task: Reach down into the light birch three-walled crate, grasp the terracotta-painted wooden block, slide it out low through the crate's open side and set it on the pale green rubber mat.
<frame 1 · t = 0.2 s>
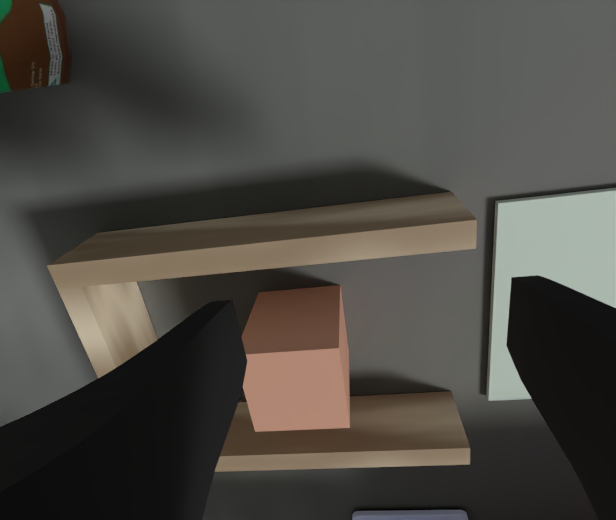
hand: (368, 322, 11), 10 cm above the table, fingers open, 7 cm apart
block: (305, 322, 23), resting in crate
mat: (613, 300, 21), on the table
crate: (287, 325, 23), on the table
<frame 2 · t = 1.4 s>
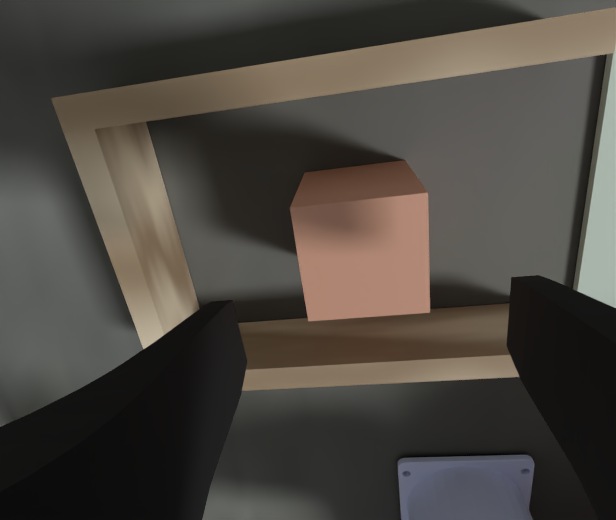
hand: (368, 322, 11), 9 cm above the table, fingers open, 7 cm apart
block: (358, 213, 19), resting in crate
crate: (337, 216, 19), on the table
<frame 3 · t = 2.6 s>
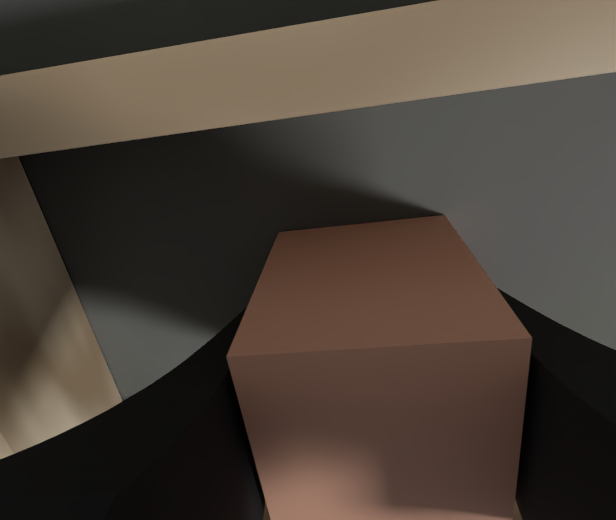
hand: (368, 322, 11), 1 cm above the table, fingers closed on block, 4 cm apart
block: (365, 295, 12), resting in crate, touching gripper
crate: (332, 298, 12), on the table
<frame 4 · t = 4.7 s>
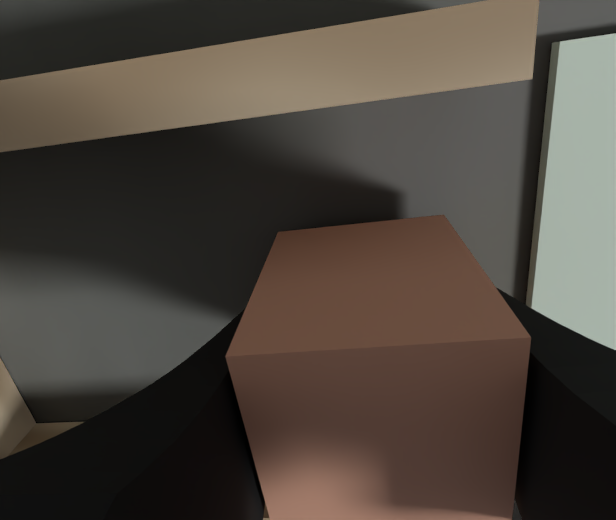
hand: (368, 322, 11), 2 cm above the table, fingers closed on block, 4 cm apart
block: (365, 295, 12), point 1 cm above the table, touching gripper
crate: (183, 294, 14), on the table
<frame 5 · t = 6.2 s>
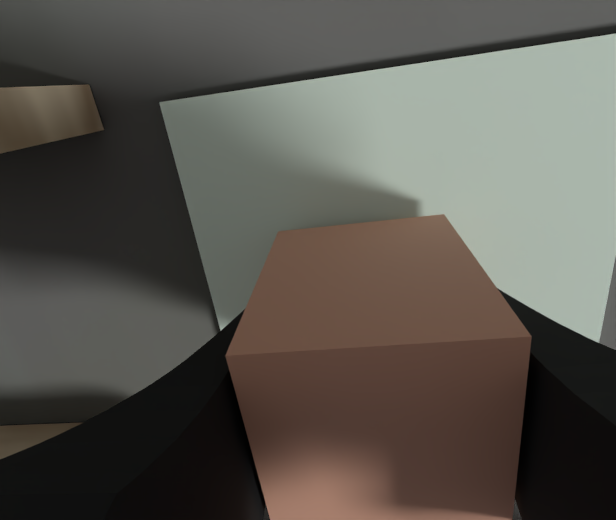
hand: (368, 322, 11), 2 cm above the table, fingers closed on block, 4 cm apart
block: (365, 294, 12), point 1 cm above the table, touching gripper
mat: (398, 277, 13), on the table
when the fingers open (2 cm above the table, at t = 7.1 s): block stays where it is, resting on mat.
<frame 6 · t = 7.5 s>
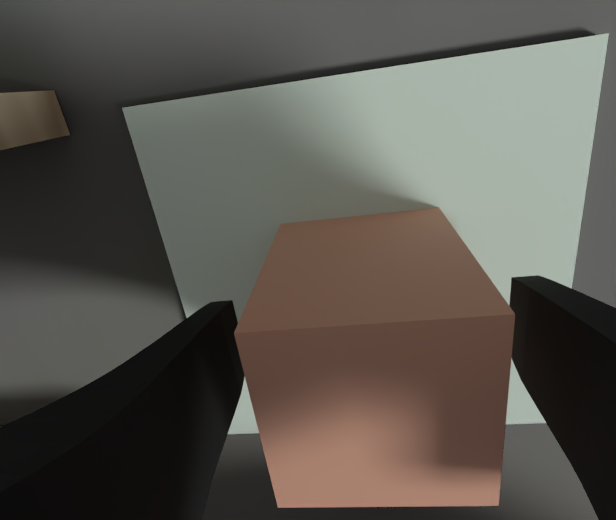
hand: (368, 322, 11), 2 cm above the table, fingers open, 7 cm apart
block: (364, 285, 12), resting on mat
mat: (364, 280, 13), on the table
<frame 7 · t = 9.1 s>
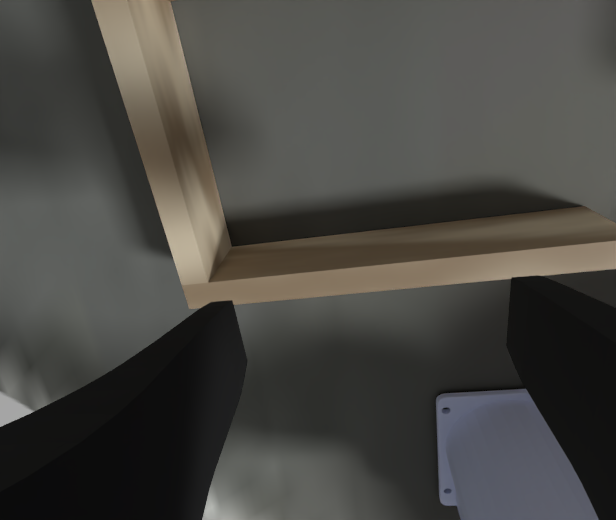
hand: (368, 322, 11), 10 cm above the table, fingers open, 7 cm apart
crate: (377, 111, 18), on the table
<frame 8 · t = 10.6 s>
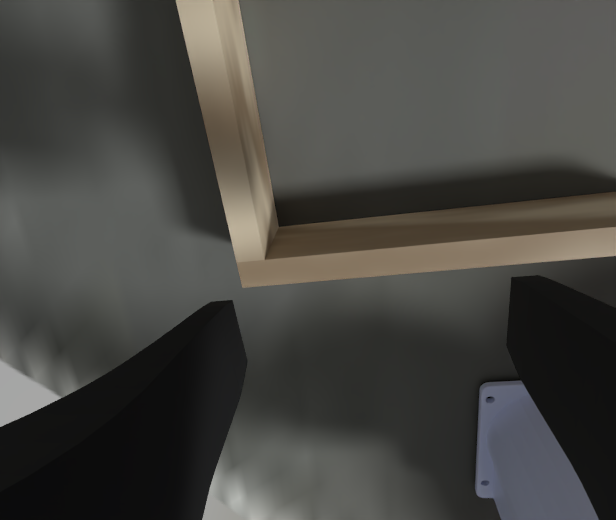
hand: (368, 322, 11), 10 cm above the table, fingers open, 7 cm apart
crate: (441, 85, 17), on the table
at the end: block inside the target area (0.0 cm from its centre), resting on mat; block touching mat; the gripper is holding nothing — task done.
